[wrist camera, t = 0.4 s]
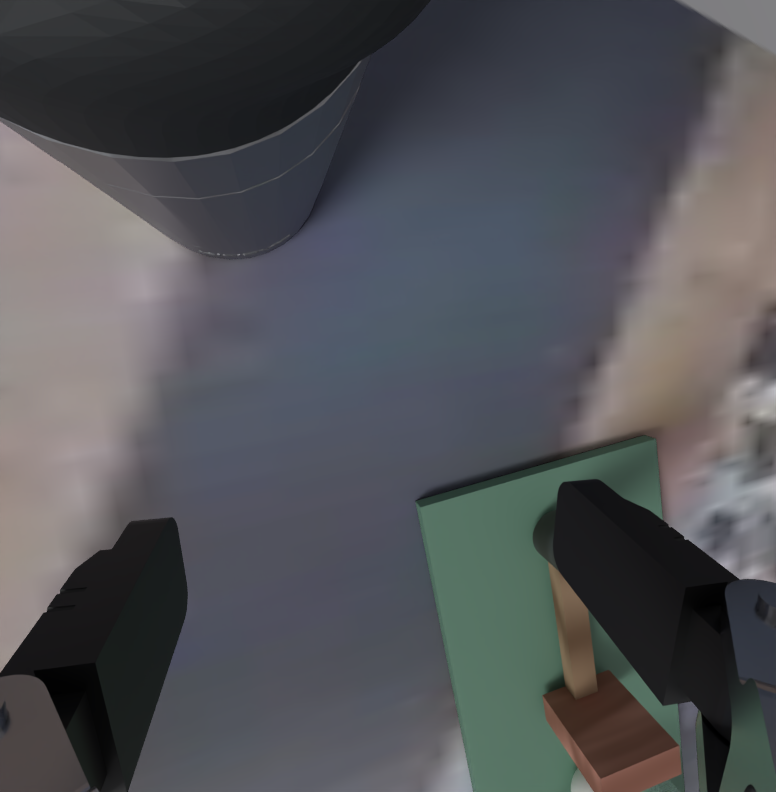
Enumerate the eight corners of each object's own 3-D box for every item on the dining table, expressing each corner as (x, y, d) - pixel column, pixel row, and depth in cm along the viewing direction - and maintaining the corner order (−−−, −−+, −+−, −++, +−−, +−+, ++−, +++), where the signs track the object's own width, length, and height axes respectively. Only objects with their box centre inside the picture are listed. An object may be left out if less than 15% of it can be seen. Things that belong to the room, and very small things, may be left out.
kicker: (515, 521, 30) (693, 677, 17) (588, 499, 30) (808, 631, 18) (546, 719, 33) (714, 973, 20) (611, 694, 34) (811, 922, 21)
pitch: (415, 501, 29) (420, 507, 28) (644, 434, 32) (655, 438, 31) (497, 914, 37) (503, 931, 36) (679, 830, 40) (689, 843, 39)
